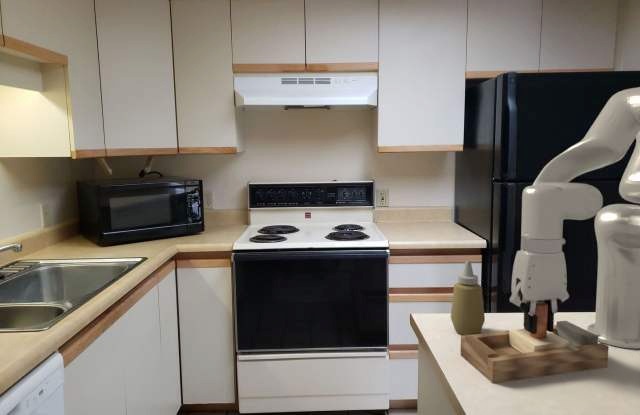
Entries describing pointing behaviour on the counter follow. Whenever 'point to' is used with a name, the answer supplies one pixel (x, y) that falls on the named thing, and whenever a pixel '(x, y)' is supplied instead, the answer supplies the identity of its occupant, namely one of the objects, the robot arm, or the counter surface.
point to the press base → (533, 354)
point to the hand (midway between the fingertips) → (538, 329)
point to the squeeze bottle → (467, 303)
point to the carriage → (537, 335)
